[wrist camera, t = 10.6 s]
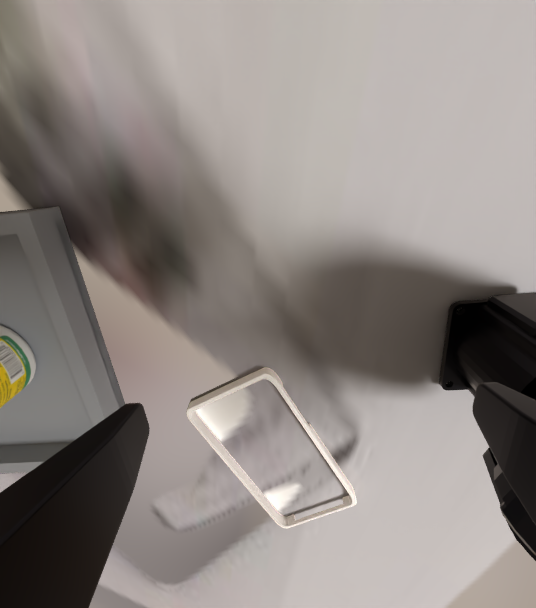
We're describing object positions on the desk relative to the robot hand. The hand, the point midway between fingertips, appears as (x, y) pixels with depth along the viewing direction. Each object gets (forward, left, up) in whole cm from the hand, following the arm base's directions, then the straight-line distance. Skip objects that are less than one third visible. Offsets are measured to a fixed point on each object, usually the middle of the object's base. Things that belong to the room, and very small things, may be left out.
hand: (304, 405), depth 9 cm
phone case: (-15, +2, -13) cm, 20 cm away
